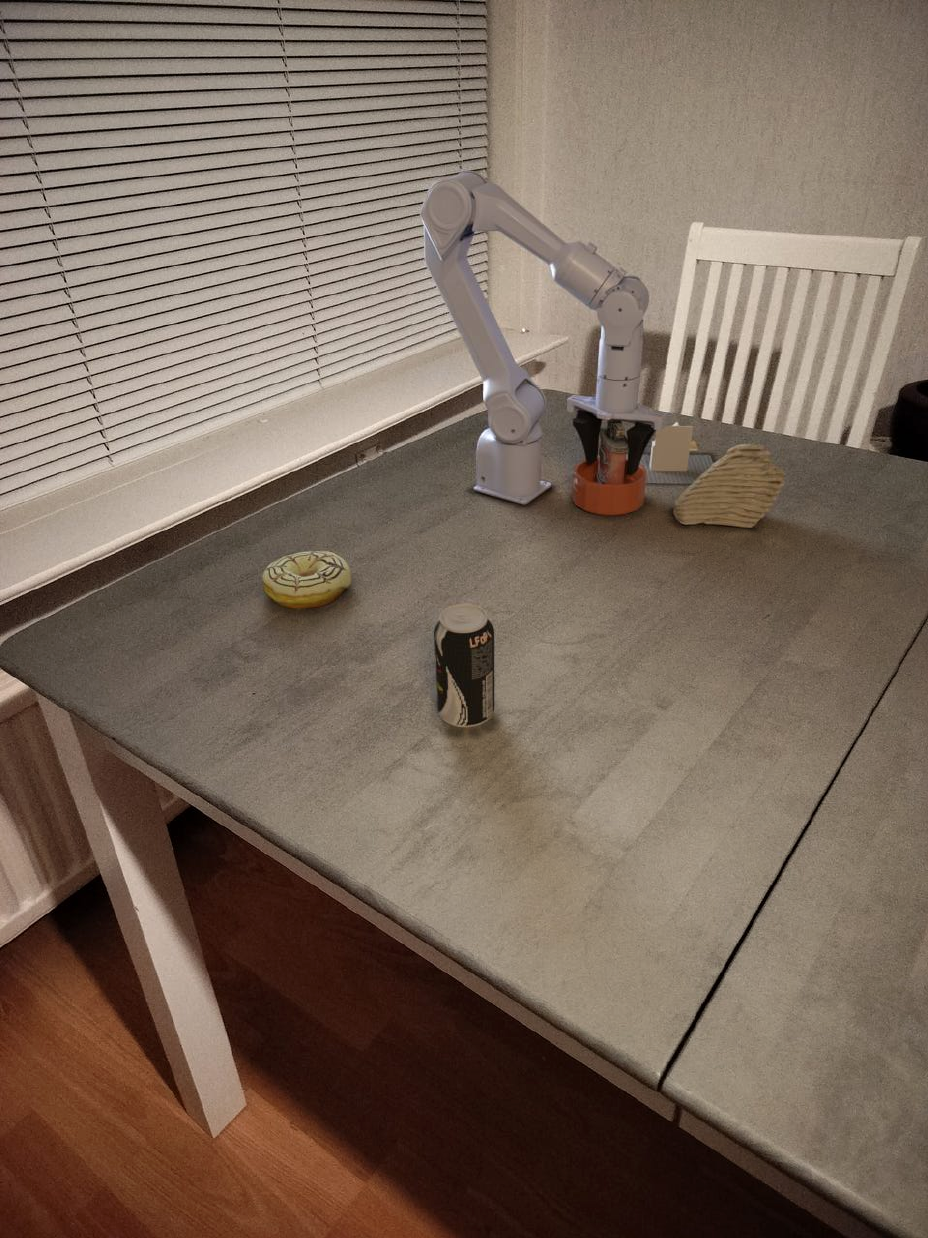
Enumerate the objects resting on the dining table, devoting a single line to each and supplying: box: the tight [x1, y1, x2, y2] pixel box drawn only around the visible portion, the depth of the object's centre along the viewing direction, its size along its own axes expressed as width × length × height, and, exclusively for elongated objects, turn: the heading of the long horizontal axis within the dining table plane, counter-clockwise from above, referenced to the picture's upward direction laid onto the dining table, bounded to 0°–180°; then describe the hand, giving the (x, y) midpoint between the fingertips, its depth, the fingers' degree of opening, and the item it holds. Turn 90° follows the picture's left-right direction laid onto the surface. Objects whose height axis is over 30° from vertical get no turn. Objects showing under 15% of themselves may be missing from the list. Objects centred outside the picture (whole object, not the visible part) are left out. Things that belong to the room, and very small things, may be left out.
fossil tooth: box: [672, 443, 787, 529], centre depth 114 cm, size 12×6×15 cm
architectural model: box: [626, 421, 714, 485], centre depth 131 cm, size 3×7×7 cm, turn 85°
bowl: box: [571, 456, 647, 517], centre depth 121 cm, size 10×10×5 cm
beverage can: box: [433, 603, 495, 728], centre depth 80 cm, size 6×6×12 cm
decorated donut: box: [261, 550, 352, 611], centre depth 103 cm, size 10×11×4 cm
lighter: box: [596, 419, 628, 485], centre depth 118 cm, size 8×3×10 cm, turn 5°
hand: (611, 467), depth 120 cm, fingers closed on lighter, 6 cm apart
